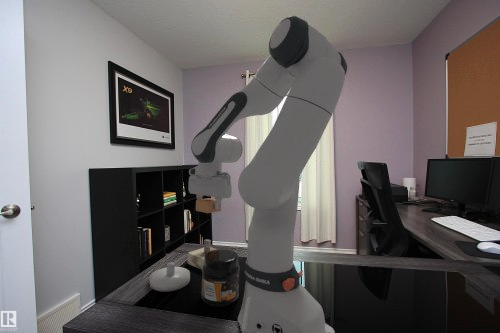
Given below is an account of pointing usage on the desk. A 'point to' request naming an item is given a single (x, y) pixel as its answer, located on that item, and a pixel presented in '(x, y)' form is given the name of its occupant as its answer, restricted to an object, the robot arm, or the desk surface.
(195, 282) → the desk surface
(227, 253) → the supplement container
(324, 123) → the robot arm
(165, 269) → the hub
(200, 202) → the orange square hollow block
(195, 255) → the stand
